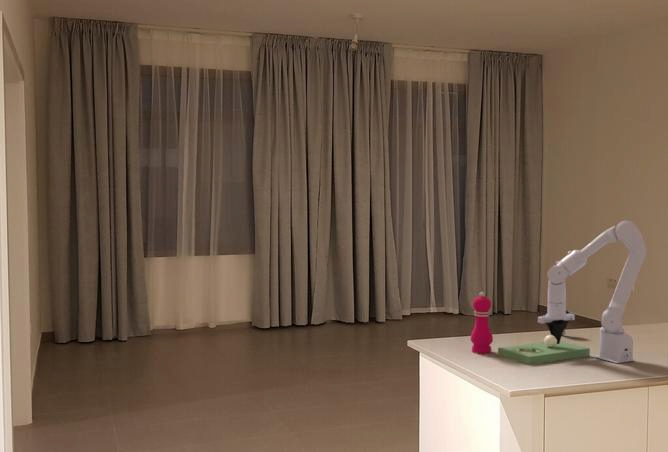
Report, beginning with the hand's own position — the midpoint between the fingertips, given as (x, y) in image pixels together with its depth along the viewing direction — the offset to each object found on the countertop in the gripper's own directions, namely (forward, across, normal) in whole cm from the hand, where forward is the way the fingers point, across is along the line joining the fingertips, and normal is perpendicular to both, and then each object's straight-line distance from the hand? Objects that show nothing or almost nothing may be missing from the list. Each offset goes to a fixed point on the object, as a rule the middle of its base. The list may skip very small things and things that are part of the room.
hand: (556, 343), depth 218 cm
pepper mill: (+4, +20, -14) cm, 24 cm away
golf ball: (-1, +2, 0) cm, 3 cm away
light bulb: (+4, -24, -21) cm, 32 cm away
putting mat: (+3, +5, 0) cm, 6 cm away
